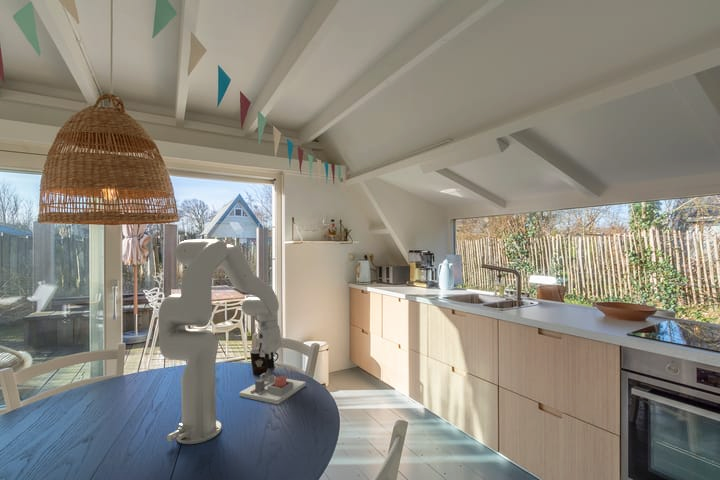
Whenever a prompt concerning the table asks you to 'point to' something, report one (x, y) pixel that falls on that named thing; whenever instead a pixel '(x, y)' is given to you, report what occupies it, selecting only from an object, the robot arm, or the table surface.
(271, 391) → the panel
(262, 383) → the slider
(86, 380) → the table surface
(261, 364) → the coffee mug
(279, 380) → the button
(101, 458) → the table surface
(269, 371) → the lever
